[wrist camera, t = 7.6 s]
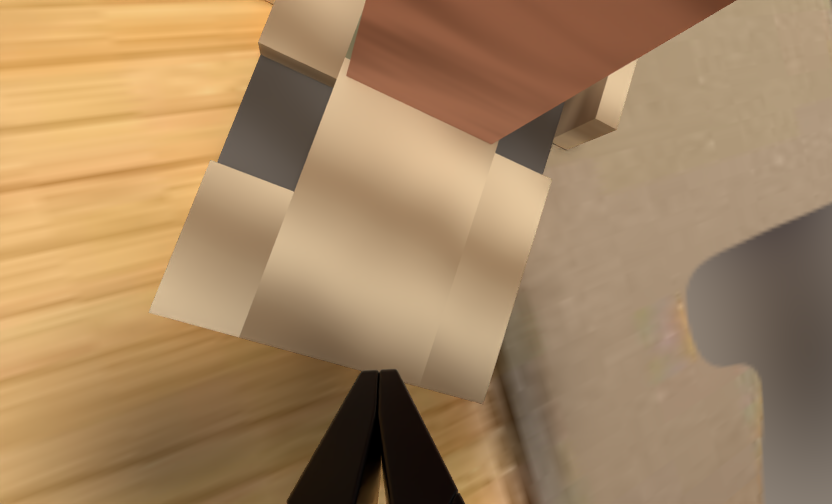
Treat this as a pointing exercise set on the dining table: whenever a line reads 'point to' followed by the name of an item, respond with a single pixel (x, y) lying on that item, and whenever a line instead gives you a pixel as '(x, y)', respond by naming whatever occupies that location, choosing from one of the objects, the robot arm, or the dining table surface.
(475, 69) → the block
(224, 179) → the shallow open box
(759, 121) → the dining table surface
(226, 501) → the dining table surface
